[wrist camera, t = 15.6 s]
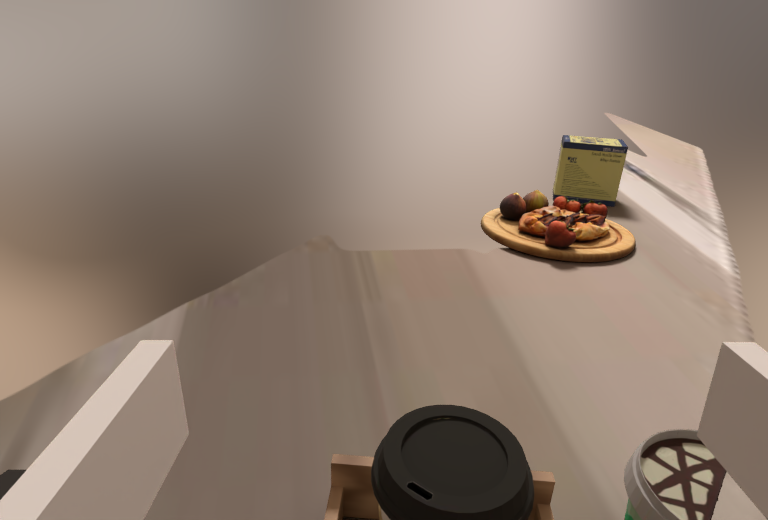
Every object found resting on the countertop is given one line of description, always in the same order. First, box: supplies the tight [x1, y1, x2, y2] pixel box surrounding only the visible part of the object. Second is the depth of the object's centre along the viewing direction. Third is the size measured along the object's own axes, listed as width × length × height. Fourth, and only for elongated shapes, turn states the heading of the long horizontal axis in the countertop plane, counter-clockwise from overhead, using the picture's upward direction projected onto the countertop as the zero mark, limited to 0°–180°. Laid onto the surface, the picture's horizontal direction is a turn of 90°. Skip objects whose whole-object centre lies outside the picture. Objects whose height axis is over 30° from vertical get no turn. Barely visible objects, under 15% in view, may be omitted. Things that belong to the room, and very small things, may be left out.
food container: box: [624, 429, 727, 520], centre depth 40 cm, size 12×6×10 cm, turn 139°
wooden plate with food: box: [481, 190, 635, 262], centre depth 109 cm, size 32×32×8 cm
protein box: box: [553, 135, 628, 207], centre depth 134 cm, size 10×16×16 cm
